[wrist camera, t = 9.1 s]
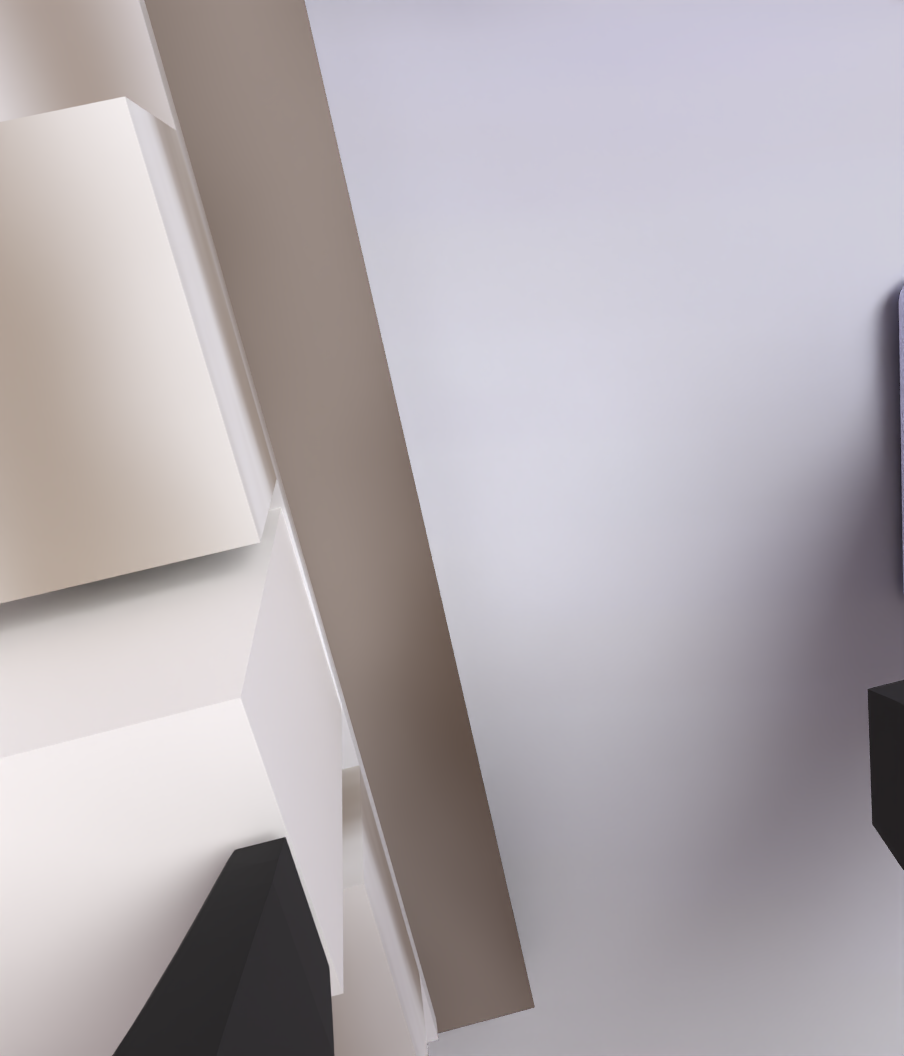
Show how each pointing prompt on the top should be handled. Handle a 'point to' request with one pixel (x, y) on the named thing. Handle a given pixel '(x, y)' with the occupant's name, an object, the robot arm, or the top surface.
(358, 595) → the rail board
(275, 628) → the block
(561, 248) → the top surface
